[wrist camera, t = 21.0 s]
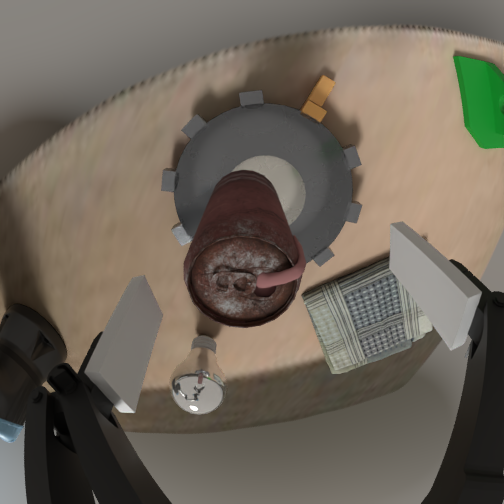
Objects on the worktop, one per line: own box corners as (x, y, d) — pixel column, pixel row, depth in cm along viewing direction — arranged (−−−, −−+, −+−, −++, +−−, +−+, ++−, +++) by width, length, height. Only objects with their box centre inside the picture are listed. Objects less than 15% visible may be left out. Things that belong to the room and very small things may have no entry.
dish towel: (296, 290, 35) (300, 306, 32) (420, 237, 31) (432, 249, 29) (330, 370, 43) (334, 385, 40) (425, 329, 39) (433, 341, 37)
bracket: (451, 56, 20) (487, 53, 14) (487, 63, 19) (521, 64, 13) (464, 147, 25) (500, 159, 19) (497, 145, 25) (531, 157, 19)
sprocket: (256, 305, 33) (257, 332, 29) (128, 189, 26) (109, 203, 22) (389, 204, 27) (410, 220, 23) (272, 52, 20) (277, 40, 16)
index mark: (318, 107, 24) (321, 106, 23) (306, 99, 24) (308, 99, 23) (332, 83, 23) (335, 82, 22) (320, 76, 23) (323, 75, 22)
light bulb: (223, 358, 40) (218, 428, 29) (177, 347, 38) (162, 416, 28) (236, 326, 36) (233, 402, 26) (184, 313, 35) (167, 388, 25)
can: (290, 211, 26) (327, 304, 14) (232, 240, 28) (222, 346, 15) (260, 155, 24) (277, 202, 11) (199, 188, 25) (155, 265, 13)
